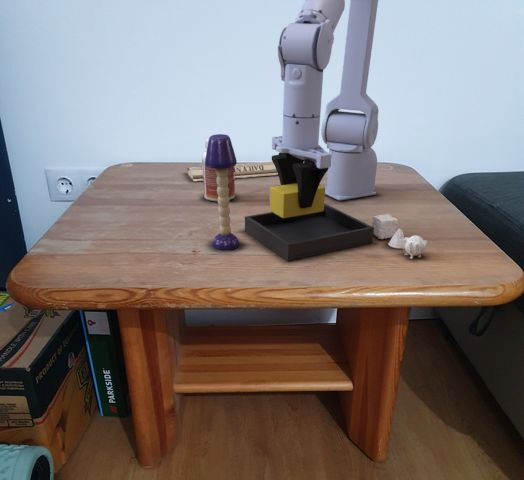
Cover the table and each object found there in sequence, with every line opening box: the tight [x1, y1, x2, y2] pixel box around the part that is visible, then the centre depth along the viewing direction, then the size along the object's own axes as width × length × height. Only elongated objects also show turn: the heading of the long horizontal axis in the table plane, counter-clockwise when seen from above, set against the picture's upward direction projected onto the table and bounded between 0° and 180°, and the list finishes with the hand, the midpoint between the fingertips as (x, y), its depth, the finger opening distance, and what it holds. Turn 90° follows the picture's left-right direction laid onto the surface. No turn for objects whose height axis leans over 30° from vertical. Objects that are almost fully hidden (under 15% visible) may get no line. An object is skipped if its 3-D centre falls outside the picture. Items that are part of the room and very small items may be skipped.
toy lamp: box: [205, 133, 240, 251], centre depth 81 cm, size 5×5×17 cm
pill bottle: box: [201, 137, 236, 203], centre depth 103 cm, size 6×6×11 cm
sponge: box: [269, 183, 326, 218], centre depth 88 cm, size 8×4×4 cm, turn 119°
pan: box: [244, 202, 374, 262], centre depth 88 cm, size 16×14×3 cm
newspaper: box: [186, 161, 278, 182], centre depth 121 cm, size 24×7×2 cm, turn 108°
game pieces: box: [371, 213, 428, 259], centre depth 85 cm, size 12×3×3 cm, turn 20°
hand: (297, 202), depth 89 cm, fingers closed on sponge, 4 cm apart
